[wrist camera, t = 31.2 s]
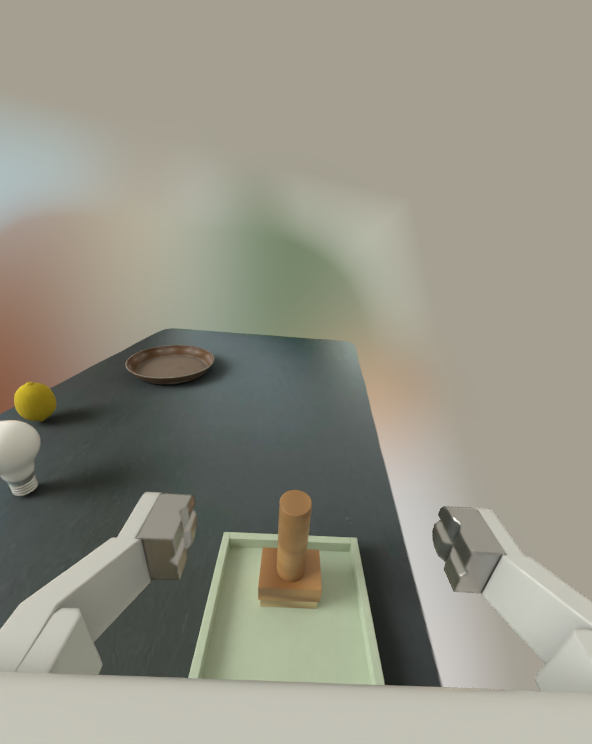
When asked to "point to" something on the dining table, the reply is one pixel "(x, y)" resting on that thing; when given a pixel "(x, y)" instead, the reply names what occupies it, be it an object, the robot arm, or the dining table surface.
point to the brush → (291, 559)
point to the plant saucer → (170, 364)
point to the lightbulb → (18, 455)
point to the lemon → (35, 401)
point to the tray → (287, 620)
